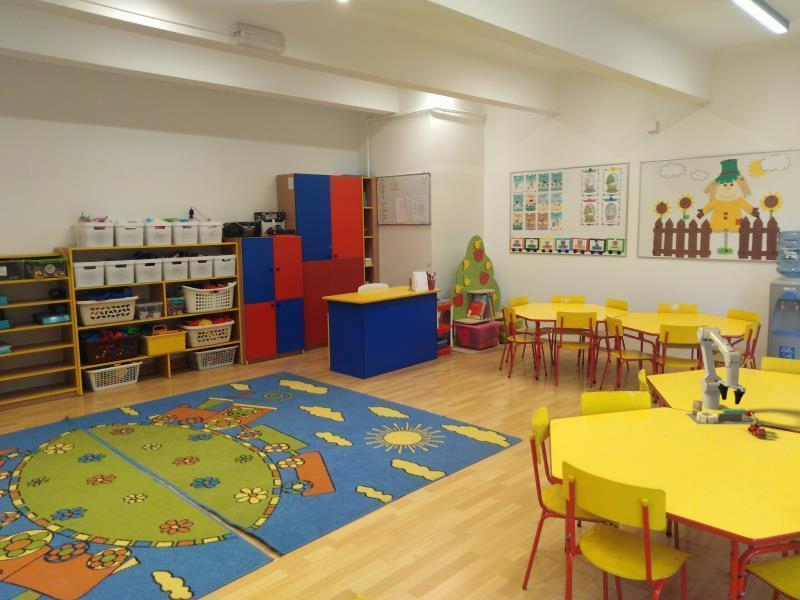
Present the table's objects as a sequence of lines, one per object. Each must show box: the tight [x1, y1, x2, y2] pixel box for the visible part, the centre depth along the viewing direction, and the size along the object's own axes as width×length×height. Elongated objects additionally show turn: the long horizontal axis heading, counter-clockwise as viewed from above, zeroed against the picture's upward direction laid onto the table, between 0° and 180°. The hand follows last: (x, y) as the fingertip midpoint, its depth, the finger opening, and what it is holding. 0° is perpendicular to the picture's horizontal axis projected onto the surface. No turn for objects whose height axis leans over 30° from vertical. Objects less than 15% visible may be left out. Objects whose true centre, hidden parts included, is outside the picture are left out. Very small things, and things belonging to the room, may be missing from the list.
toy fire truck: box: [744, 410, 767, 440], centre depth 283 cm, size 3×14×10 cm, turn 179°
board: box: [685, 410, 763, 428], centre depth 302 cm, size 16×30×4 cm, turn 85°
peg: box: [691, 399, 703, 416], centre depth 308 cm, size 4×4×7 cm
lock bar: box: [721, 408, 751, 414], centre depth 299 cm, size 3×12×2 cm, turn 85°
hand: (730, 401), depth 301 cm, fingers open, 7 cm apart
